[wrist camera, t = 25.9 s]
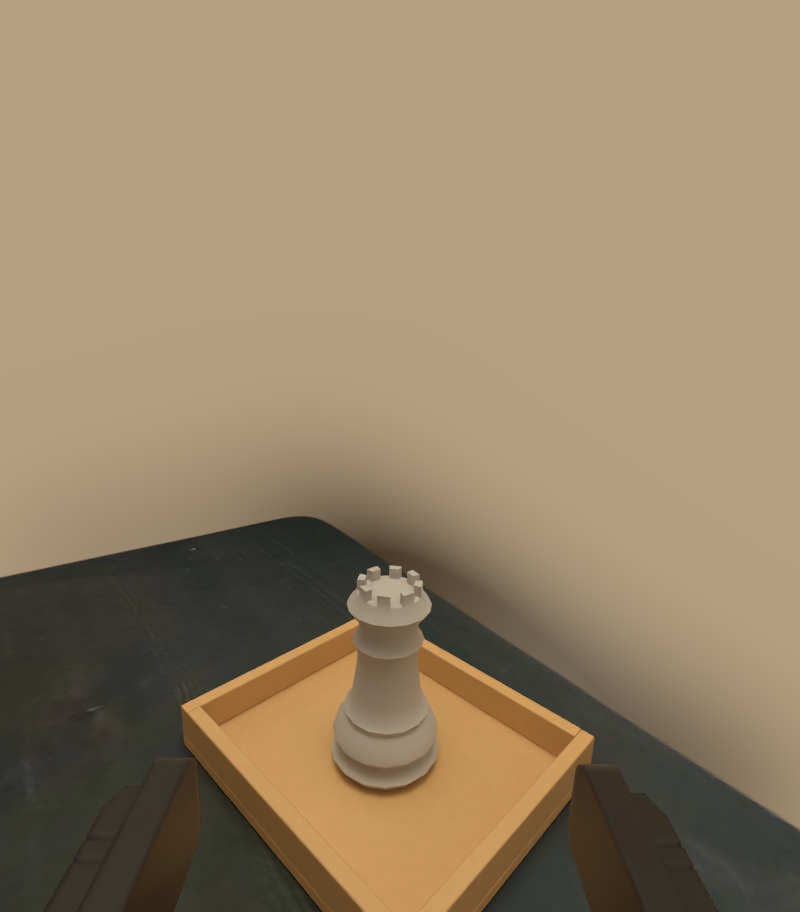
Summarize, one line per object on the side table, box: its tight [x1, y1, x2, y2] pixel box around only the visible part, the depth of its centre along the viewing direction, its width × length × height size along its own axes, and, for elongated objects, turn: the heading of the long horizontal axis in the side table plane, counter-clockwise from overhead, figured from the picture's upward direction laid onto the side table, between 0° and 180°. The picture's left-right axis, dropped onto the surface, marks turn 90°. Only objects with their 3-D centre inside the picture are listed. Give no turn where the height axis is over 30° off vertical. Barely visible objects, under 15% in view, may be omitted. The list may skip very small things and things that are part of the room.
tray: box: [181, 619, 594, 912], centre depth 23 cm, size 13×11×2 cm
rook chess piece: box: [331, 565, 438, 791], centre depth 22 cm, size 4×4×8 cm
